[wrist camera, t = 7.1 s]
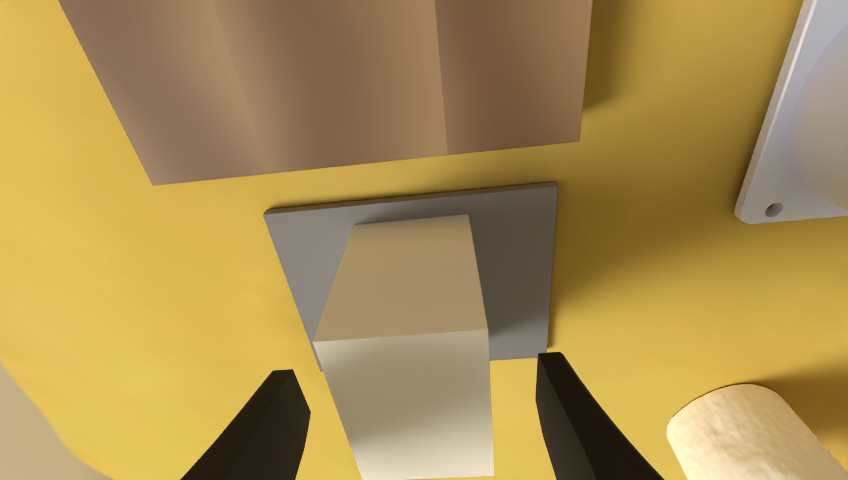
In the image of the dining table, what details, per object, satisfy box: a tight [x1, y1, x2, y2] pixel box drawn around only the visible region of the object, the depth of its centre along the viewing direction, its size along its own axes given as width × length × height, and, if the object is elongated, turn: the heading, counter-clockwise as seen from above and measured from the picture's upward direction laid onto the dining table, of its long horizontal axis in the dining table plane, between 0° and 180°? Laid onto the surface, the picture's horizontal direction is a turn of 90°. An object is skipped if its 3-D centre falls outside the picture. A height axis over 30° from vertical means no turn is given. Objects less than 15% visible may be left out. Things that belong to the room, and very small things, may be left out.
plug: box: [313, 214, 494, 480], centre depth 13 cm, size 4×6×6 cm, turn 7°
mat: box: [263, 182, 558, 372], centre depth 15 cm, size 10×8×1 cm
